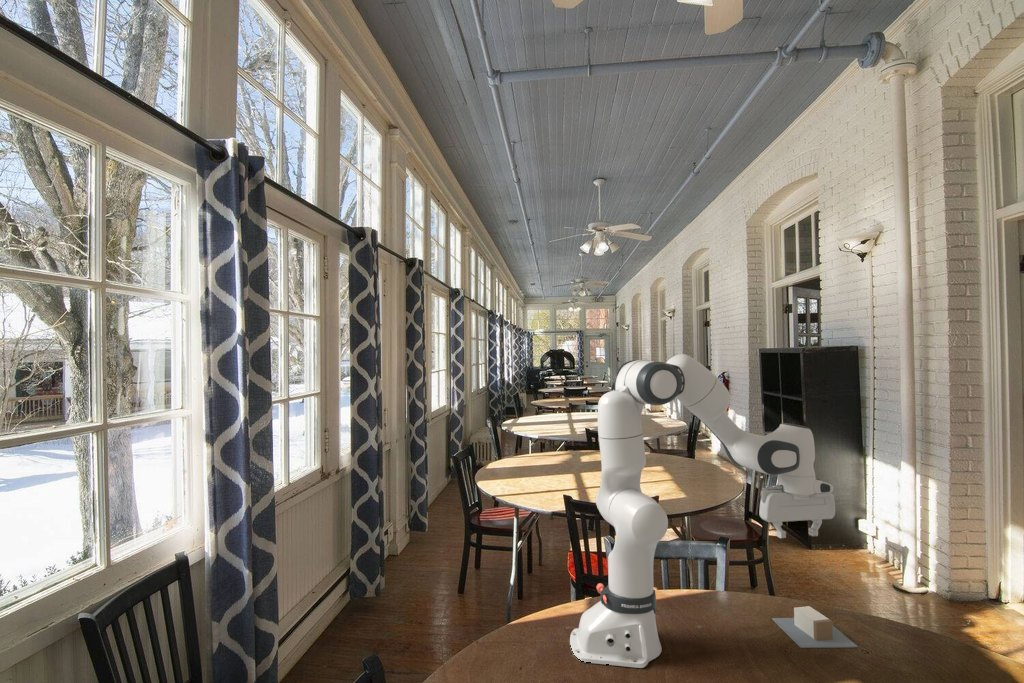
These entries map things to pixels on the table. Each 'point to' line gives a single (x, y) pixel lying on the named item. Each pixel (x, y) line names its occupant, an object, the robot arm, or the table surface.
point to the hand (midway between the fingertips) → (797, 536)
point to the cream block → (813, 623)
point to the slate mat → (807, 641)
